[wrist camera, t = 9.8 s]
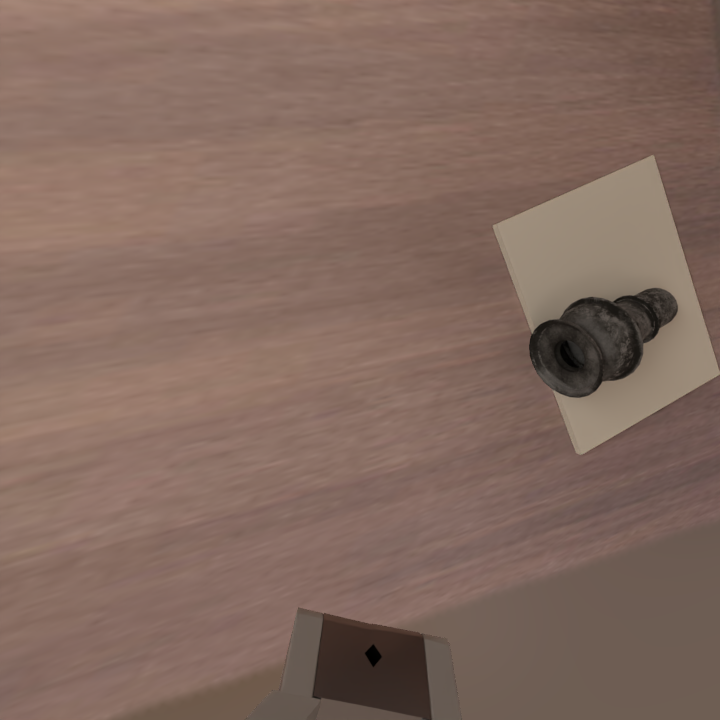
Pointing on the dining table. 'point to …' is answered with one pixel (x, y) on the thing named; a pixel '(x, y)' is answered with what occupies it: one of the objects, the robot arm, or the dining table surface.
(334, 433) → the dining table surface
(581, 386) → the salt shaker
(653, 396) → the placemat
